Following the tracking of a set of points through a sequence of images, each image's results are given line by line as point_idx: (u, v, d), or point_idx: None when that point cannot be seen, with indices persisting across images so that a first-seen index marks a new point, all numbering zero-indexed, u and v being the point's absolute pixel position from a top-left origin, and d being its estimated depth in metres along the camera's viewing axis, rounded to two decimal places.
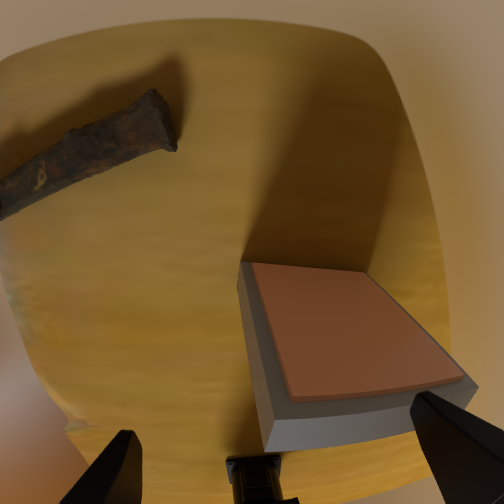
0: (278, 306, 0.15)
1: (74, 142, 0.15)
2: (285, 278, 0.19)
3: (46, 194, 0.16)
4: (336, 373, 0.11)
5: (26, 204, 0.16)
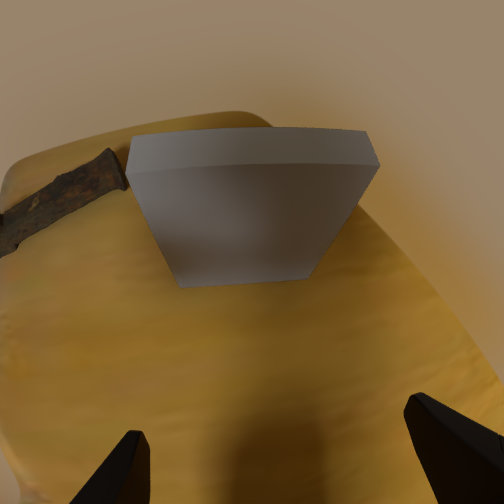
0: None
1: (60, 178, 0.23)
2: None
3: (36, 215, 0.22)
4: None
5: (20, 225, 0.22)
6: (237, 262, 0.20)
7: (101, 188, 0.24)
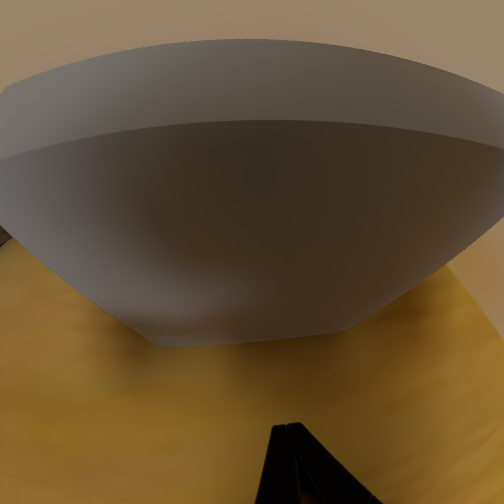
0: None
1: None
2: None
3: None
4: None
5: None
6: (247, 325, 0.11)
7: None
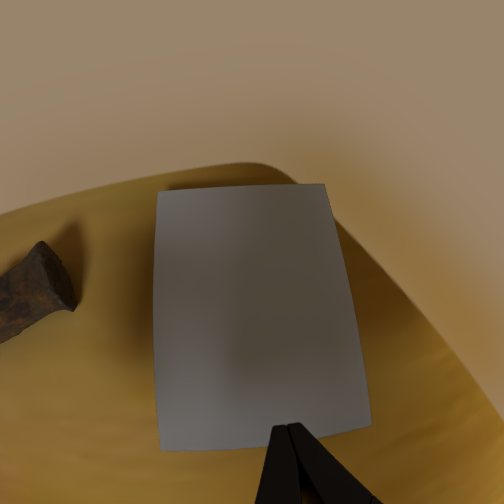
0: None
1: None
2: None
3: None
4: None
5: None
6: (247, 354, 0.14)
7: (36, 313, 0.14)
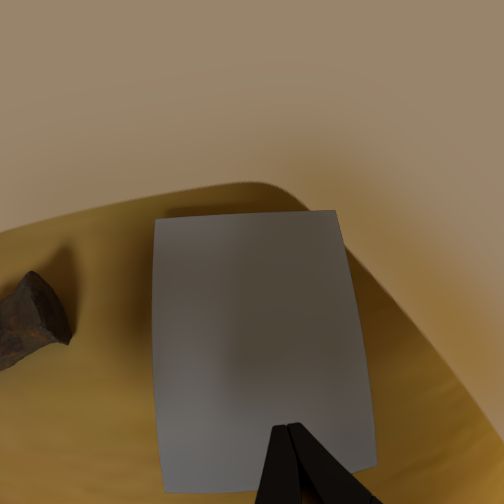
0: None
1: None
2: None
3: None
4: None
5: None
6: (253, 400, 0.12)
7: (30, 346, 0.12)
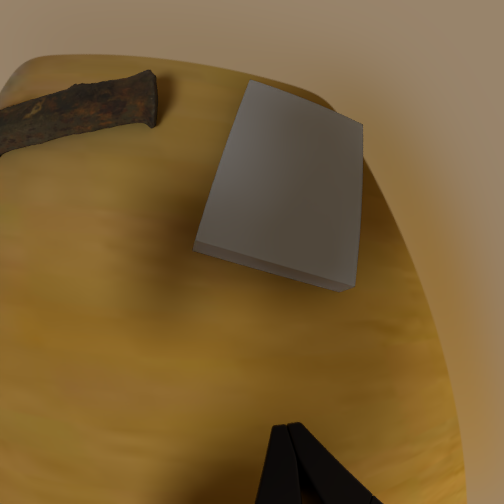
0: None
1: (77, 87, 0.16)
2: None
3: (31, 125, 0.15)
4: None
5: (9, 132, 0.14)
6: (284, 195, 0.19)
7: (124, 116, 0.18)
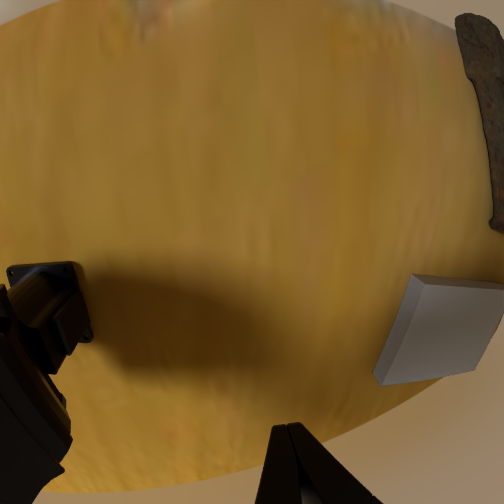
0: None
1: None
2: None
3: (502, 130, 0.16)
4: None
5: (497, 106, 0.15)
6: (442, 332, 0.22)
7: (501, 208, 0.19)
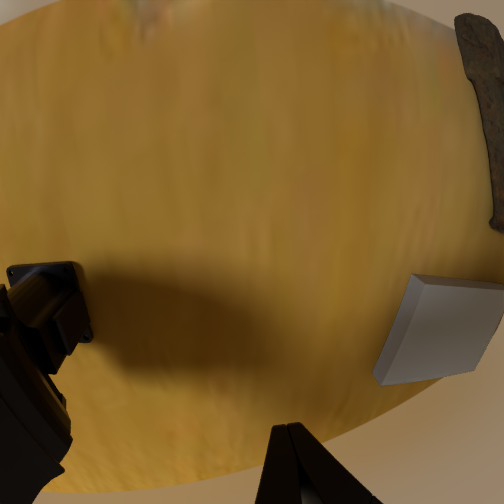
0: None
1: None
2: None
3: (501, 130, 0.16)
4: None
5: (497, 107, 0.15)
6: (442, 332, 0.22)
7: (501, 208, 0.19)
